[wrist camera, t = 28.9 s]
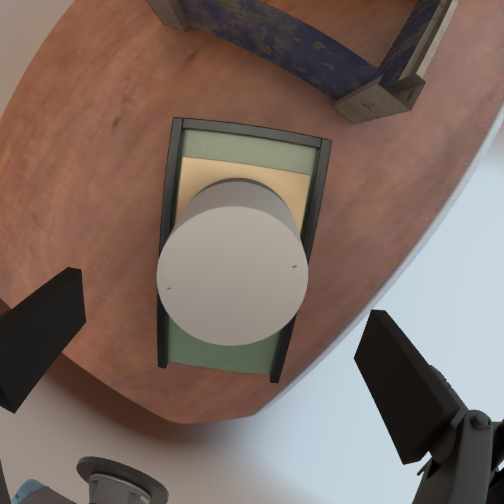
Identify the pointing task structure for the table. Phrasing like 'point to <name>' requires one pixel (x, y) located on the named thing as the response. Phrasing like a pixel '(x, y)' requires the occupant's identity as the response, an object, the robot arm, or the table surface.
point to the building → (324, 50)
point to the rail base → (181, 145)
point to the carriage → (209, 171)
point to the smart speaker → (233, 264)
